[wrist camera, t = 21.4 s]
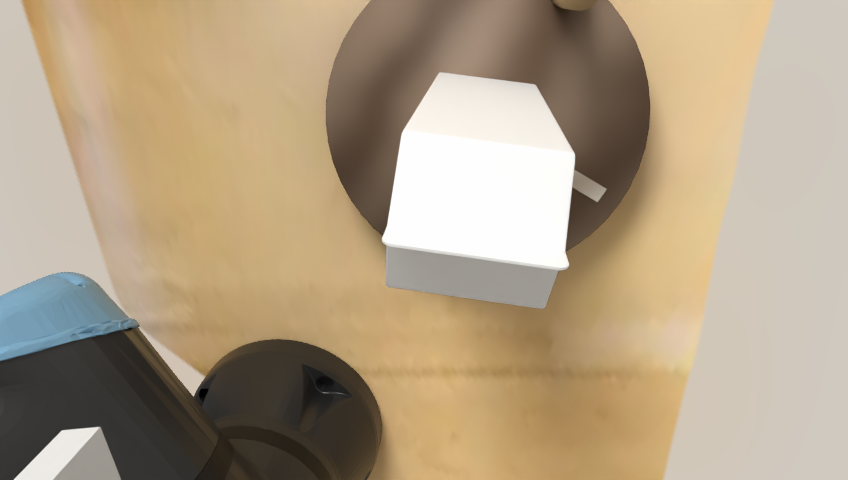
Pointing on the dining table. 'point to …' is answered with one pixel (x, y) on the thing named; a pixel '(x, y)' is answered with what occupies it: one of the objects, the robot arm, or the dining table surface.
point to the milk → (480, 194)
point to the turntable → (495, 59)
